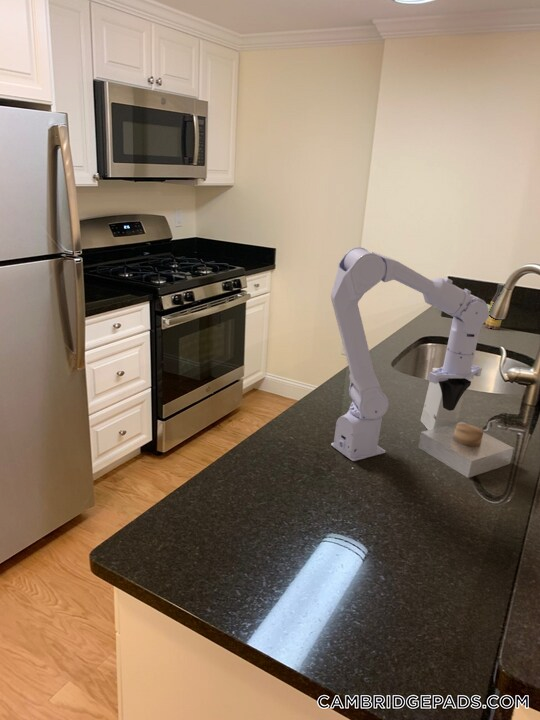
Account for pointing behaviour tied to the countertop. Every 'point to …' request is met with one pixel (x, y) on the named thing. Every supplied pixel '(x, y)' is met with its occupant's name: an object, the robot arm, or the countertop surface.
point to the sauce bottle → (490, 321)
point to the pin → (468, 435)
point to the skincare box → (438, 408)
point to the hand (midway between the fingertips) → (448, 408)
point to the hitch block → (465, 451)
